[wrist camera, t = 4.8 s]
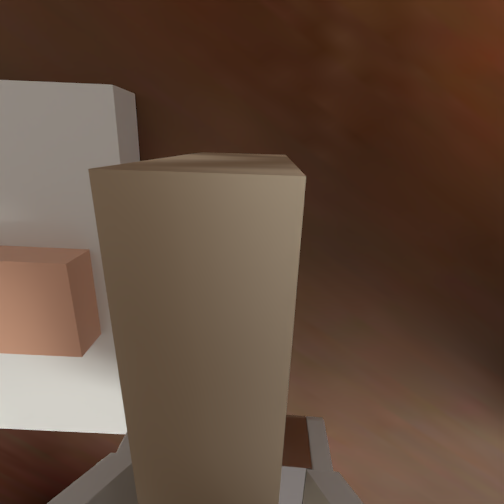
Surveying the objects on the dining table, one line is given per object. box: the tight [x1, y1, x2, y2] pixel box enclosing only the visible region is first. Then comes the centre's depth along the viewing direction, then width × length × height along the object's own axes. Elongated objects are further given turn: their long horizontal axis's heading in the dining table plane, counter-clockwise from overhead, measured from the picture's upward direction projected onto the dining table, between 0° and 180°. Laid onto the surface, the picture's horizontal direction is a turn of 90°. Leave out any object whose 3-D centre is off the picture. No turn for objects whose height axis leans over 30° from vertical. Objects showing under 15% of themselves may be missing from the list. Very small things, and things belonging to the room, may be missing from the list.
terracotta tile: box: [0, 245, 101, 357], centre depth 15 cm, size 5×5×2 cm
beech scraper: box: [88, 152, 306, 504], centre depth 9 cm, size 2×16×6 cm, turn 178°
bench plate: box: [0, 80, 140, 434], centre depth 18 cm, size 10×20×2 cm, turn 178°
